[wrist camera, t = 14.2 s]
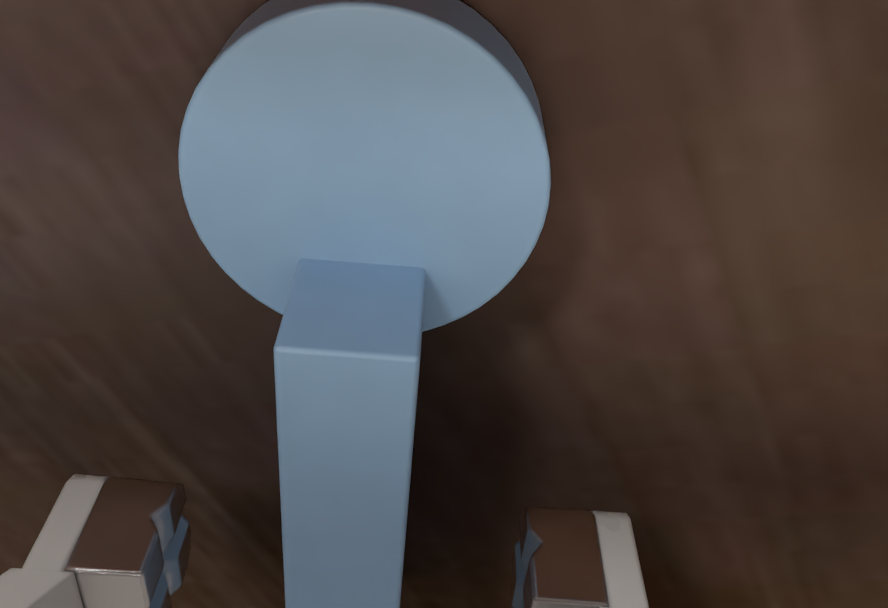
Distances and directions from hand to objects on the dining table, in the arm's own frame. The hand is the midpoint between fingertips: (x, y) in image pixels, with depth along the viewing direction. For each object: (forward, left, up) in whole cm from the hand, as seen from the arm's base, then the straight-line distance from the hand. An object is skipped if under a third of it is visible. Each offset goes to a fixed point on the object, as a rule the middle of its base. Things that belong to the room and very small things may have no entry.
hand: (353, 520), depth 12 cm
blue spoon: (+2, 0, -2) cm, 2 cm away
